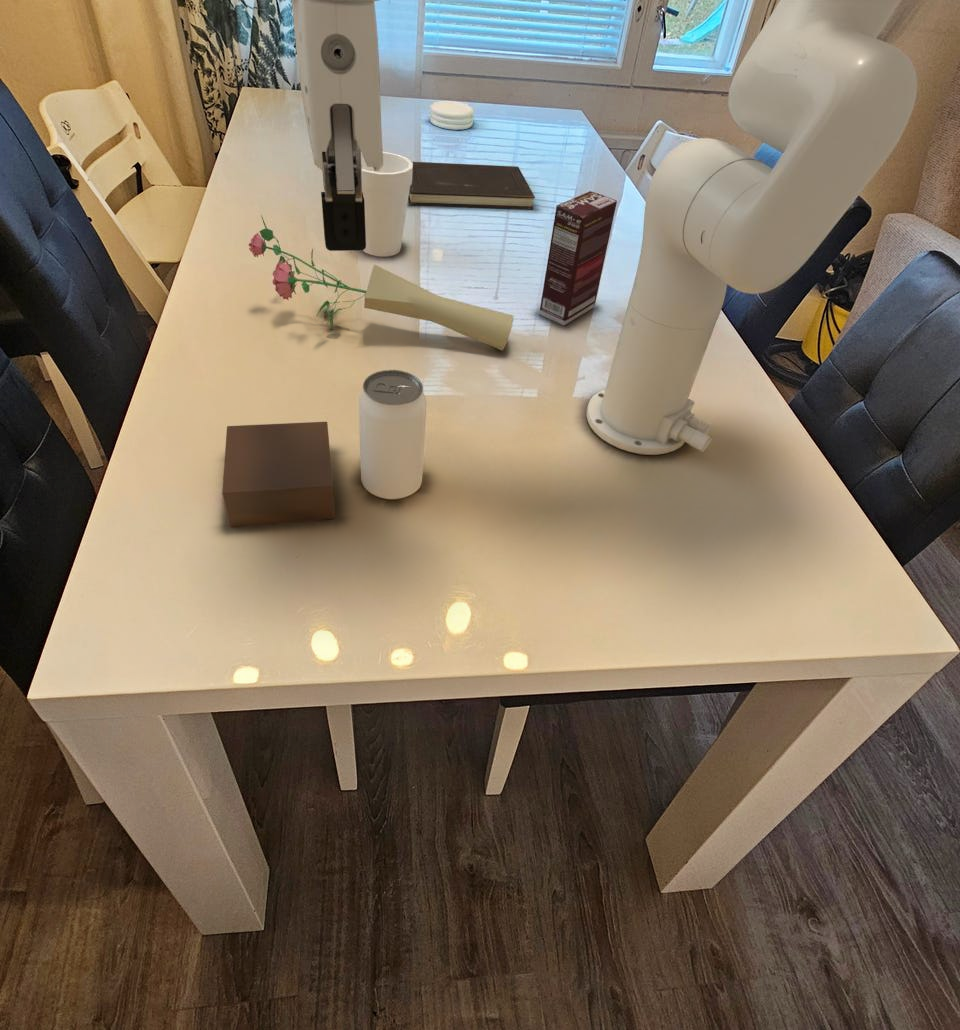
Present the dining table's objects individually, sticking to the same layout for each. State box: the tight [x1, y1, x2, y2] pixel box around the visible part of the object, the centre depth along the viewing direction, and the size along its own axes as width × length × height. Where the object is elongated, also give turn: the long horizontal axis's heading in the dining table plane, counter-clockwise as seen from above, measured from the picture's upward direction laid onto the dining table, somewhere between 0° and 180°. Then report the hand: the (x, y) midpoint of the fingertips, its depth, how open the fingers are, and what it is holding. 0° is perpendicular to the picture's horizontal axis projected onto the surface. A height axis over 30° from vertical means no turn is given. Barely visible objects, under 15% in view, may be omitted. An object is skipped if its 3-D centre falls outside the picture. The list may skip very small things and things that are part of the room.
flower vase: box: [248, 214, 515, 352], centre depth 93 cm, size 12×12×35 cm
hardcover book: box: [408, 161, 536, 210], centre depth 133 cm, size 16×23×2 cm
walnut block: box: [221, 421, 336, 527], centre depth 71 cm, size 10×10×4 cm
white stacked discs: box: [429, 100, 475, 131], centre depth 161 cm, size 10×10×4 cm
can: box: [358, 369, 427, 501], centre depth 70 cm, size 6×6×12 cm
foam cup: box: [361, 151, 413, 257], centre depth 109 cm, size 10×9×13 cm
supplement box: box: [538, 190, 618, 326], centre depth 99 cm, size 9×5×16 cm, turn 141°
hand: (345, 245), depth 57 cm, fingers closed
